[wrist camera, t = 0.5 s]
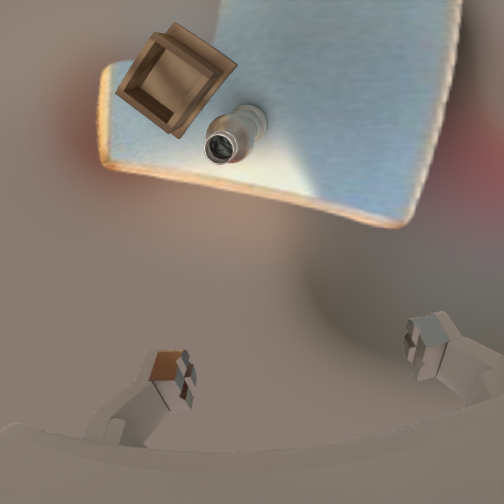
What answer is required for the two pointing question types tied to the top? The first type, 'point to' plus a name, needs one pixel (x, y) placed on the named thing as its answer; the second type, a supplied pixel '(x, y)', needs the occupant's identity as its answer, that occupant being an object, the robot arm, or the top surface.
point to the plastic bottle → (234, 135)
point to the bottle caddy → (174, 78)
